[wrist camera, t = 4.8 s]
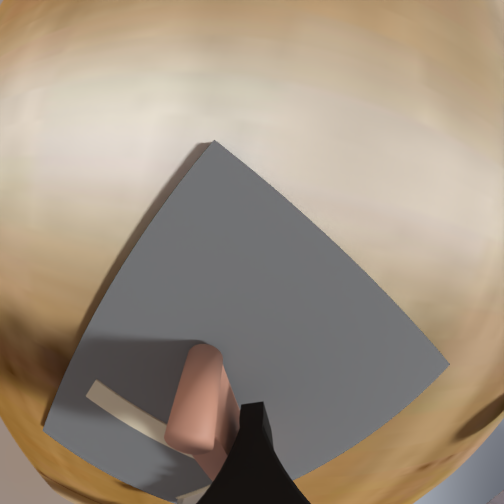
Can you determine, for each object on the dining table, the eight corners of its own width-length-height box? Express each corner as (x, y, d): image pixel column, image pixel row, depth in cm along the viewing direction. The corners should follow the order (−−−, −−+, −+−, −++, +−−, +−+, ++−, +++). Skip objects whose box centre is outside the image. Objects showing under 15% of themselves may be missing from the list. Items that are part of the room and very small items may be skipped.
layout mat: (204, 508, 16) (201, 549, 11) (44, 426, 13) (20, 466, 9) (445, 359, 12) (491, 412, 7) (216, 141, 9) (183, 104, 4)
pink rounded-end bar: (272, 479, 13) (276, 532, 9) (248, 481, 13) (249, 534, 9) (220, 340, 10) (207, 432, 6) (180, 346, 10) (151, 433, 6)
